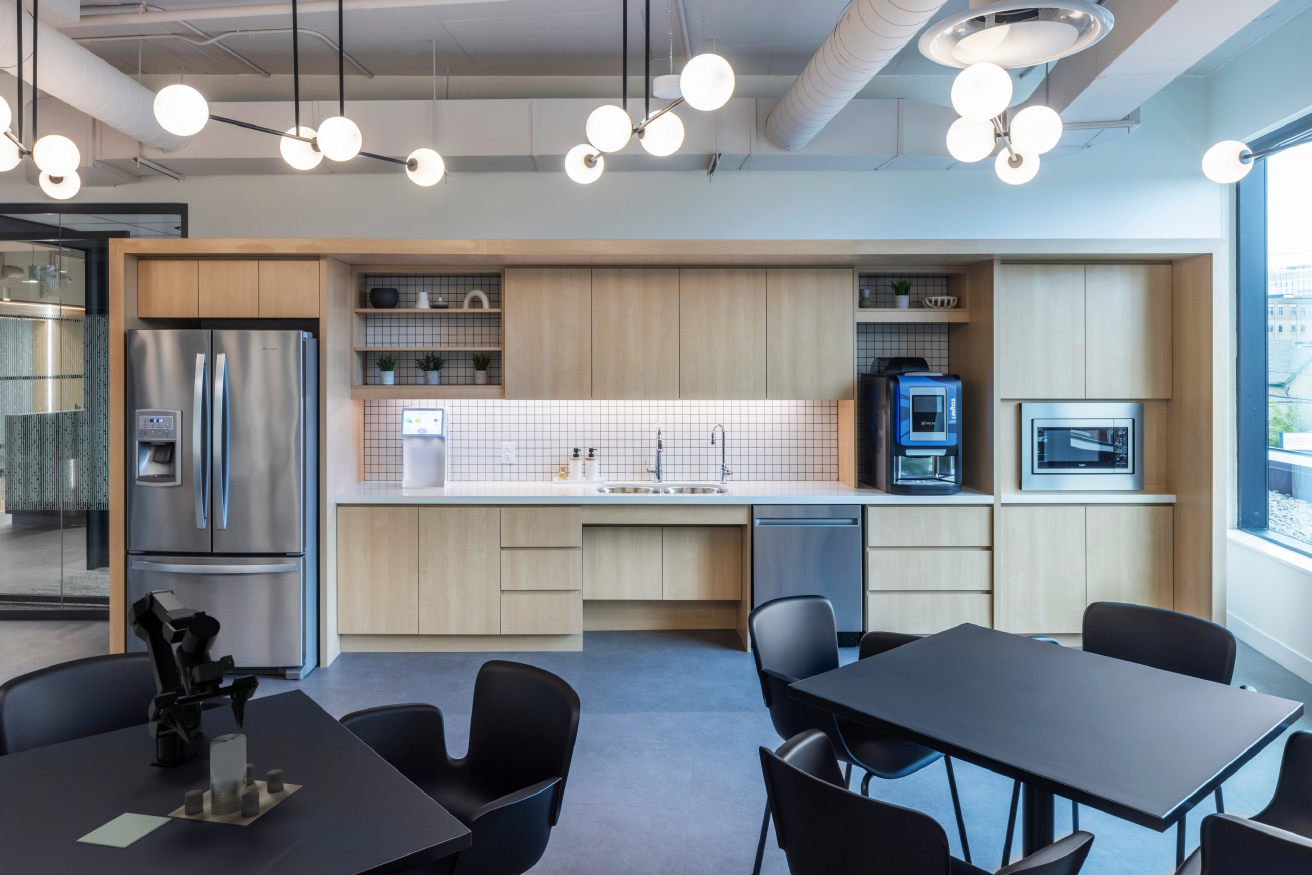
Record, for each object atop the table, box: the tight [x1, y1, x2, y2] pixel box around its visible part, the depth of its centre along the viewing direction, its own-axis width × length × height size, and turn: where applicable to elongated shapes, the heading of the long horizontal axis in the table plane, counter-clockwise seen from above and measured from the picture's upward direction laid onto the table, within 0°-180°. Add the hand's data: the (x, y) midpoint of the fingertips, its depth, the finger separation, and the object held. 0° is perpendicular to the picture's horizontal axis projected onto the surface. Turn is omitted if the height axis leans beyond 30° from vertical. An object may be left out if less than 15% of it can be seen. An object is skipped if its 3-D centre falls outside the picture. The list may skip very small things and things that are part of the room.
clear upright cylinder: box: [209, 733, 247, 816], centre depth 149 cm, size 6×6×13 cm
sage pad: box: [76, 812, 172, 849], centre depth 140 cm, size 10×10×1 cm
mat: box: [166, 762, 303, 826], centre depth 152 cm, size 17×16×4 cm
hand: (215, 734), depth 153 cm, fingers open, 9 cm apart
